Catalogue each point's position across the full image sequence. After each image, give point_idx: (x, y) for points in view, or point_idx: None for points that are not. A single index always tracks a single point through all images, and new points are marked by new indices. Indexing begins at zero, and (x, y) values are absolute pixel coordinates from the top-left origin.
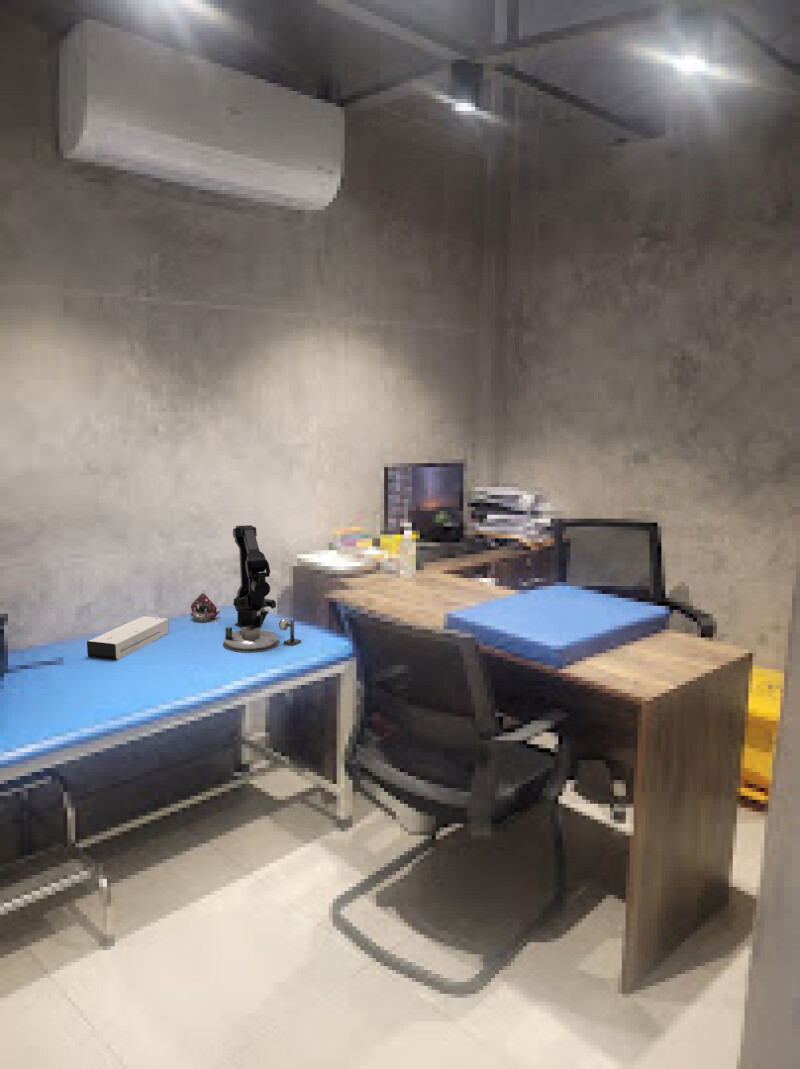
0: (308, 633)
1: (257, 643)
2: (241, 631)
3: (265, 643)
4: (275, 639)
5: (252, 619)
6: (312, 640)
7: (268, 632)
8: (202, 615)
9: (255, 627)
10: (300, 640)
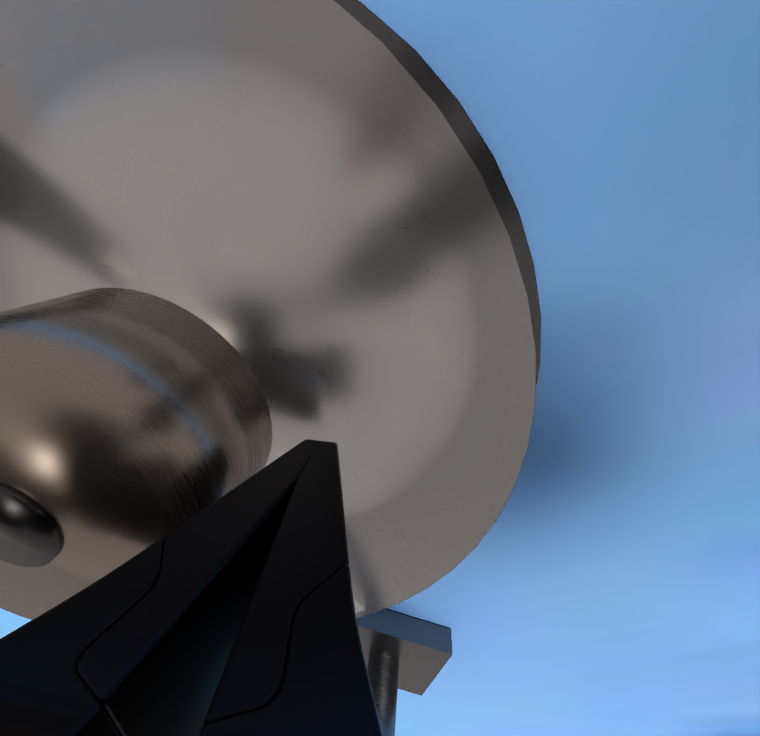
0: (689, 682)
1: None
2: (336, 90)
3: None
4: None
5: (7, 675)
6: (495, 709)
7: (439, 527)
8: None
9: (91, 580)
10: (416, 690)
